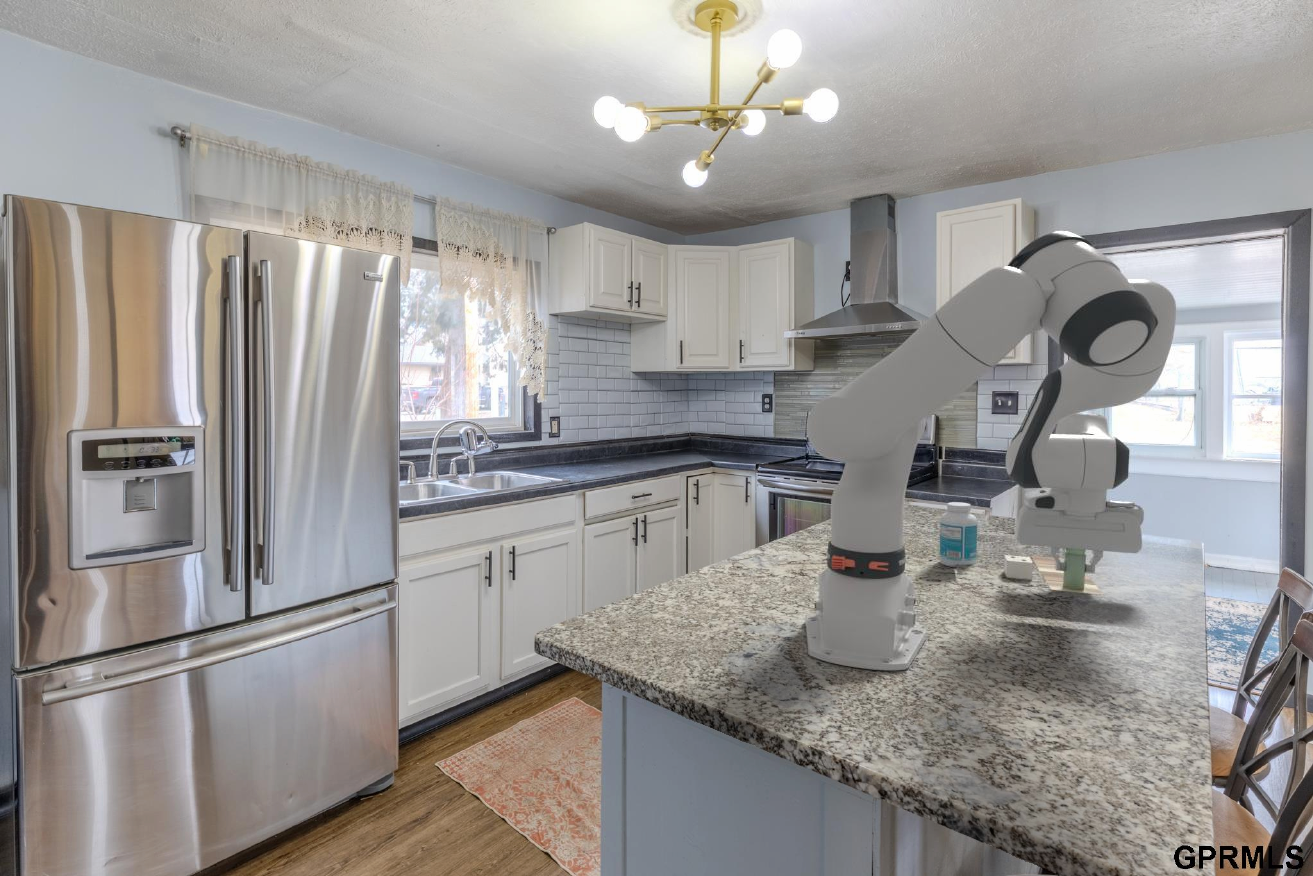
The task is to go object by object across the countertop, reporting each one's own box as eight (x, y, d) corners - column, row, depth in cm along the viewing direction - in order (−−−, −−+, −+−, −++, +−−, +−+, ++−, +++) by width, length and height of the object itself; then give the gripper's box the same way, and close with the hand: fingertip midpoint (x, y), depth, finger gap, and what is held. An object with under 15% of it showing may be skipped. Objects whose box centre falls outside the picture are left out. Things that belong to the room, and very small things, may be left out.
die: (1031, 585, 130) (1032, 562, 130) (1006, 582, 132) (1007, 560, 132) (1028, 578, 135) (1029, 556, 134) (1003, 576, 136) (1004, 554, 136)
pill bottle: (968, 560, 148) (970, 500, 147) (981, 569, 141) (984, 507, 140) (934, 559, 149) (936, 500, 148) (945, 568, 142) (947, 506, 140)
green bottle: (1086, 590, 123) (1088, 543, 122) (1064, 588, 124) (1067, 542, 124) (1082, 585, 126) (1084, 539, 125) (1061, 583, 128) (1063, 538, 127)
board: (1105, 600, 121) (1105, 595, 121) (1049, 594, 124) (1049, 589, 124) (1075, 563, 145) (1075, 559, 145) (1028, 559, 148) (1028, 555, 148)
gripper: (1139, 499, 123) (1134, 572, 124) (1015, 493, 131) (1012, 562, 132) (1150, 505, 117) (1145, 581, 118) (1019, 498, 125) (1016, 570, 126)
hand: (1074, 571), depth 125 cm, fingers closed on green bottle, 3 cm apart
